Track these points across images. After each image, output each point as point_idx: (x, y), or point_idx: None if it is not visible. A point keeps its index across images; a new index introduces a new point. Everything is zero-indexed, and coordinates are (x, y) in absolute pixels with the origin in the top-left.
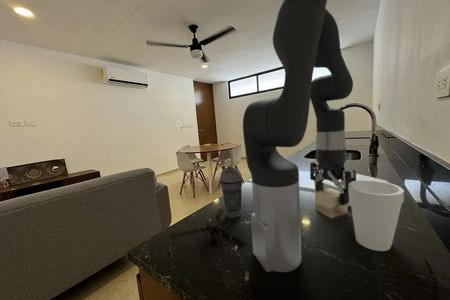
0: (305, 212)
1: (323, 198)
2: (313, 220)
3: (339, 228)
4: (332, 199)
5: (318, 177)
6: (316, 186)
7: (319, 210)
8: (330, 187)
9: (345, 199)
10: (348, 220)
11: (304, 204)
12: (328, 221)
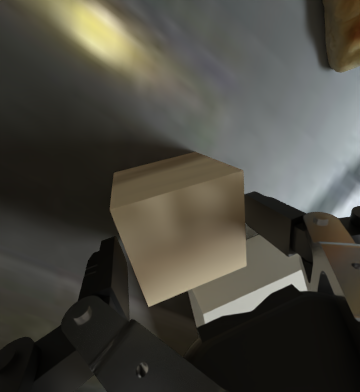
0: (185, 94)
1: (171, 183)
2: (106, 83)
3: (19, 156)
4: (114, 215)
5: (341, 254)
6: (285, 207)
7: (175, 158)
8: (274, 270)
9: (86, 278)
10: (87, 222)
11: (246, 133)
12: (88, 146)
